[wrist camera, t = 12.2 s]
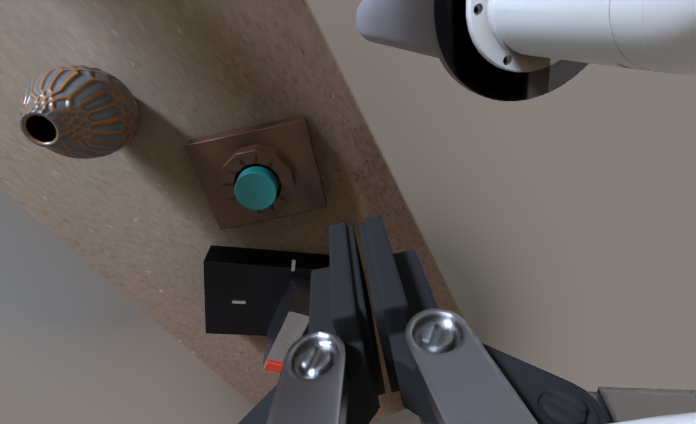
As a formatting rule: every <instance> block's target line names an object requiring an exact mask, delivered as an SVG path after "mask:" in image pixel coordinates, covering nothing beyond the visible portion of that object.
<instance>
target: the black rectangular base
mask: <svg viewBox="0 0 696 424" xmlns="http://www.w3.org/2000/svg"><path fill="white" fill-rule="evenodd" d="M326 267H330V260H329V255H324V254H311V253H299V252H286V251H274V250H261V249H249V248H236V247H224V246H211V247H210V249H209V251H208V253H207V255H206V258H205V260H204V289H205V320H206V333H214V334H238V335H261V336H267V333H268V327H269V325H270V323H271V320H272V318H273V316H274V314H275V312H276V309H277V307H278V305H279V303H280V301H281V298H282V296H283V294H284V292H285V290H286V287H287V285H288V283H289V281H290V279H291V276H292V275H294V276H297V277H301V278H304V279H308V280H311V271H312V270H316V269H321V268H326ZM308 330H309V323H308V325H307V327H306V329H305V331H304V333H303V335H302V336H304V335H306V334H308Z"/></svg>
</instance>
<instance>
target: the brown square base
mask: <svg viewBox="0 0 696 424" xmlns="http://www.w3.org/2000/svg"><path fill="white" fill-rule="evenodd" d="M185 147H186V149H187V152H188V154H189V156H190V159H191V161H192V163H193V166H194V168H195V170H196V173H197V175H198V177H199V180H200V182H201V184H202V187H203V189H204V191H205V194H206V196H207V198H208V201H209V203H210V205H211V208H212V210H213V212H214V215H215V217H216V219H217V222H218V224H219V226H220V229H221V230H222V229H226V228H231V227H236V226H240V225H245V224H250V223H254V222H259V221H264V220H268V219H273V218H278V217H282V216H287V215H292V214H296V213H301V212H306V211H310V210H315V209H320V208H324V207H327V203H326V197H325V193H324V189H323V185H322V181H321V177H320V172H319V168H318V164H317V160H316V156H315V152H314V148H313V144H312V140H311V136H310V132H309V128H308V124H307V120H306V116H305V115H304V116H300V117H295V118H290V119H286V120H281V121H277V122H272V123H267V124H263V125H258V126H254V127H249V128H244V129H240V130H235V131H230V132H226V133H221V134H217V135H212V136H207V137H203V138H198V139H194V140H190V141H189V142H188V143H187V144H186V145H185ZM251 166H262V167H265V168H267V169H269V170H270V171H272V172H273V174H274V175H275V176H276V178H277V181H278V189H277V194H276V198H275V200H274V202H273V203H272V204H271V205H270V206H269V207H267V208H265V209H262V210H251V209H248V208H246V207H244V206H243V205H241V204H240V203H239V202H238V200H237V199H236V197H235V193H234V186H235V183H236V181H237V179H238V177H239V175H240V173H241V172H242V171H243V170H244V169H246V168H248V167H251Z"/></svg>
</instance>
